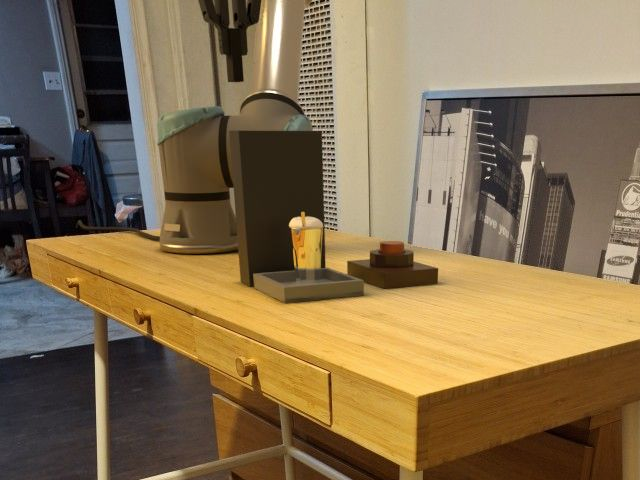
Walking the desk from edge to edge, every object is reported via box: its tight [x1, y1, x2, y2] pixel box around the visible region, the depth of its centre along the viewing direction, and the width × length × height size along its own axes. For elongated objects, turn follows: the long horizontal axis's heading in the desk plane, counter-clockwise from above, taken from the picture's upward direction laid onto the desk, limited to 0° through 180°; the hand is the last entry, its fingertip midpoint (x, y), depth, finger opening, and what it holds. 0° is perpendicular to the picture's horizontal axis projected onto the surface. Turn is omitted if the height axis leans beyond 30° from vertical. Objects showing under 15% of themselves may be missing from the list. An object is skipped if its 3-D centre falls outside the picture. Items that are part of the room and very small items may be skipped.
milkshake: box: [289, 212, 323, 285], centre depth 102 cm, size 5×5×10 cm
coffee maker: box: [229, 130, 365, 304], centre depth 103 cm, size 17×12×20 cm
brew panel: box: [346, 248, 439, 290], centre depth 113 cm, size 12×9×4 cm
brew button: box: [379, 240, 405, 254], centre depth 112 cm, size 4×4×2 cm
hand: (235, 81), depth 110 cm, fingers closed
